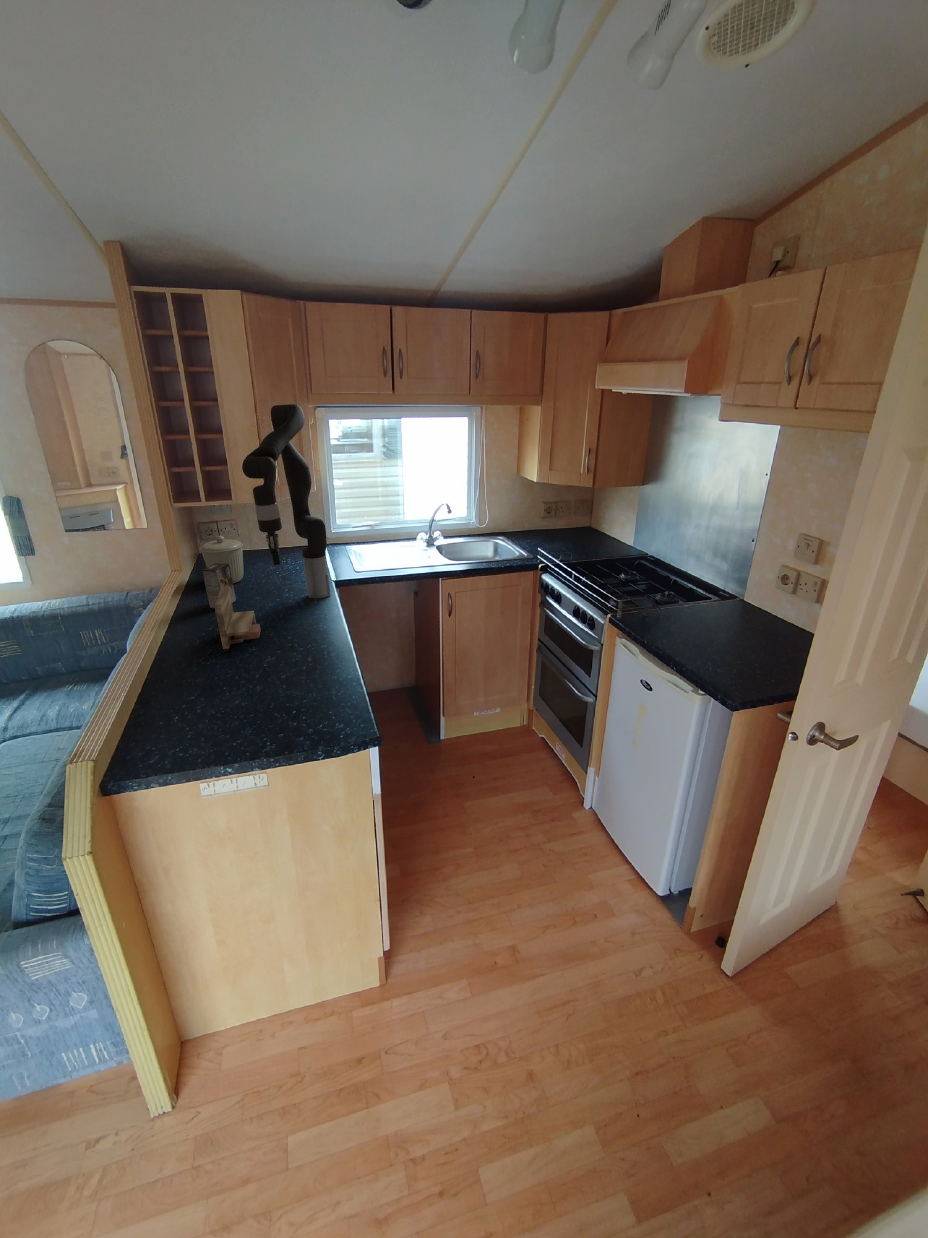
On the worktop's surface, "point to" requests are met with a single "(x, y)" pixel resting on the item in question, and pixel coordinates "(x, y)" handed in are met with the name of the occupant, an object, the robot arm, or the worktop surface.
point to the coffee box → (218, 581)
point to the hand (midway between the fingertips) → (277, 564)
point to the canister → (225, 555)
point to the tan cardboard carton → (251, 633)
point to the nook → (231, 619)
